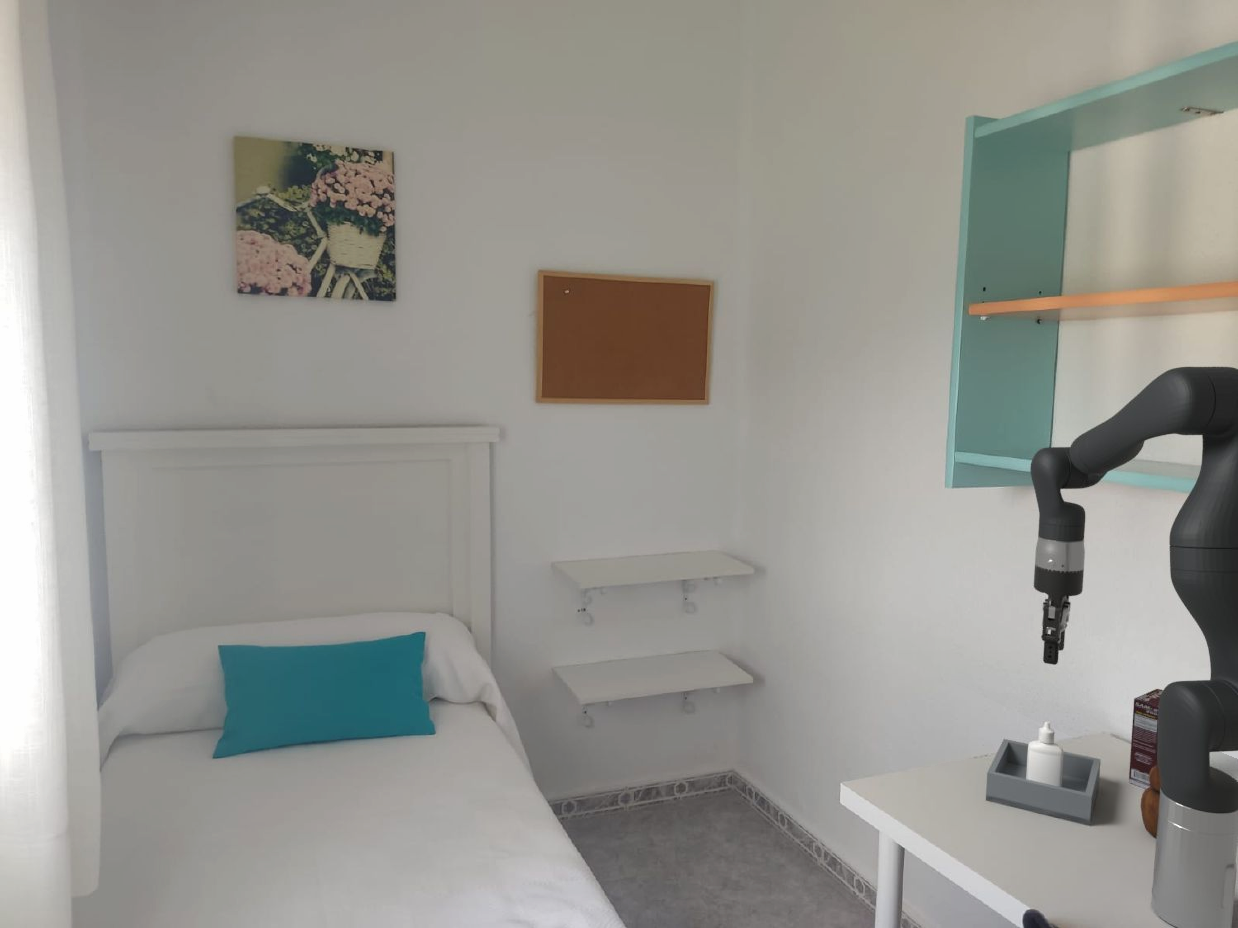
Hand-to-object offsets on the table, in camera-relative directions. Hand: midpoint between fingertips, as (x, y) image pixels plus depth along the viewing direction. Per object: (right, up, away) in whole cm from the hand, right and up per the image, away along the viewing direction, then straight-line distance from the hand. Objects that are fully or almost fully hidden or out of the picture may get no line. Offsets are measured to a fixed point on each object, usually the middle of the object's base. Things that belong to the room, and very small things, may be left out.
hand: (1053, 656), depth 157 cm
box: (-1, -25, +3) cm, 25 cm away
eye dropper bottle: (-1, -24, +3) cm, 24 cm away
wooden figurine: (+12, -27, -11) cm, 31 cm away
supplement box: (+21, -24, +7) cm, 33 cm away
